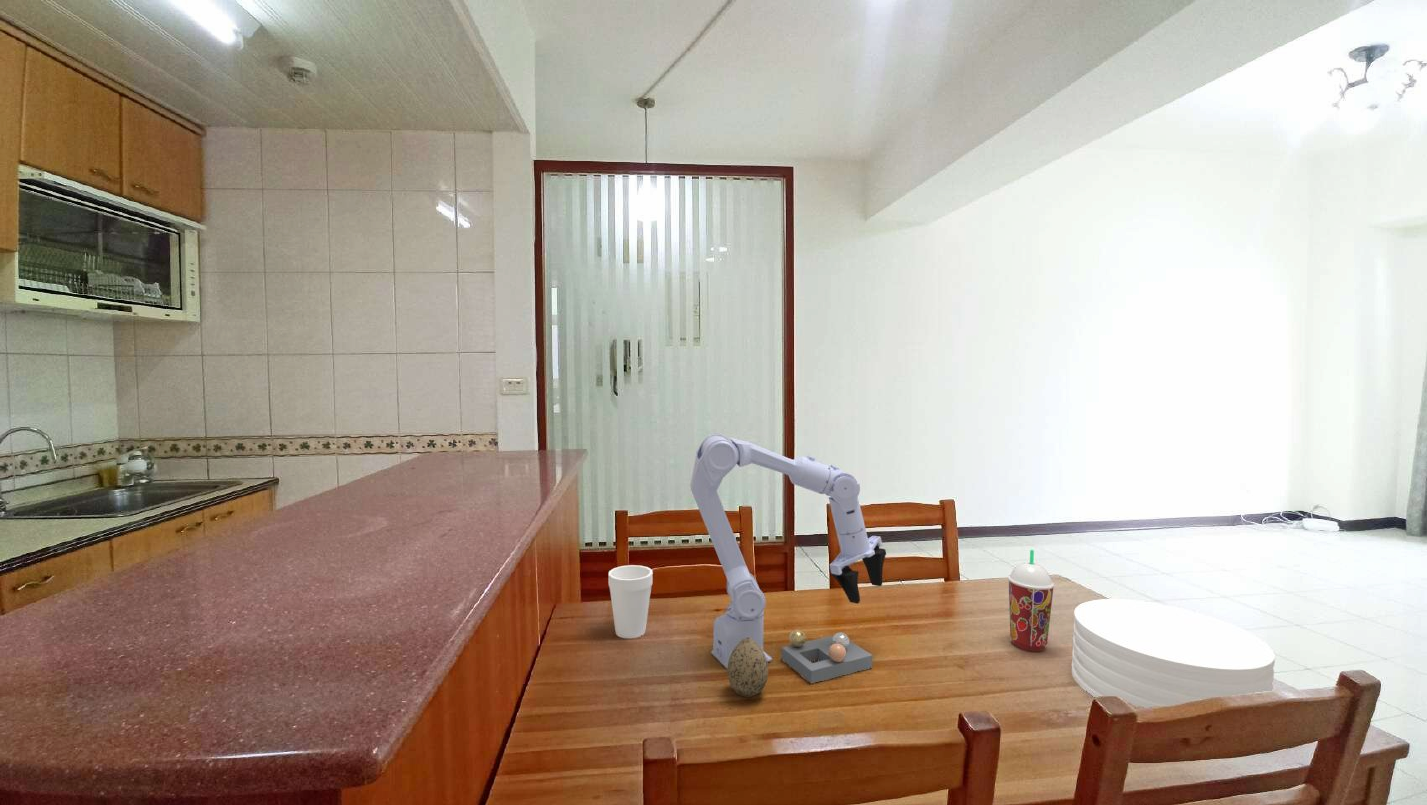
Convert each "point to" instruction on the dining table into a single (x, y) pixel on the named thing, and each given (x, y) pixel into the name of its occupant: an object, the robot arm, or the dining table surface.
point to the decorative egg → (747, 668)
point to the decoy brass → (797, 638)
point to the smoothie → (1030, 605)
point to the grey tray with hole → (825, 660)
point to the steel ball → (841, 639)
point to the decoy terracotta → (837, 652)
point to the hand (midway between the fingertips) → (866, 593)
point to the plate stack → (1164, 654)
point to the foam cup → (630, 599)
